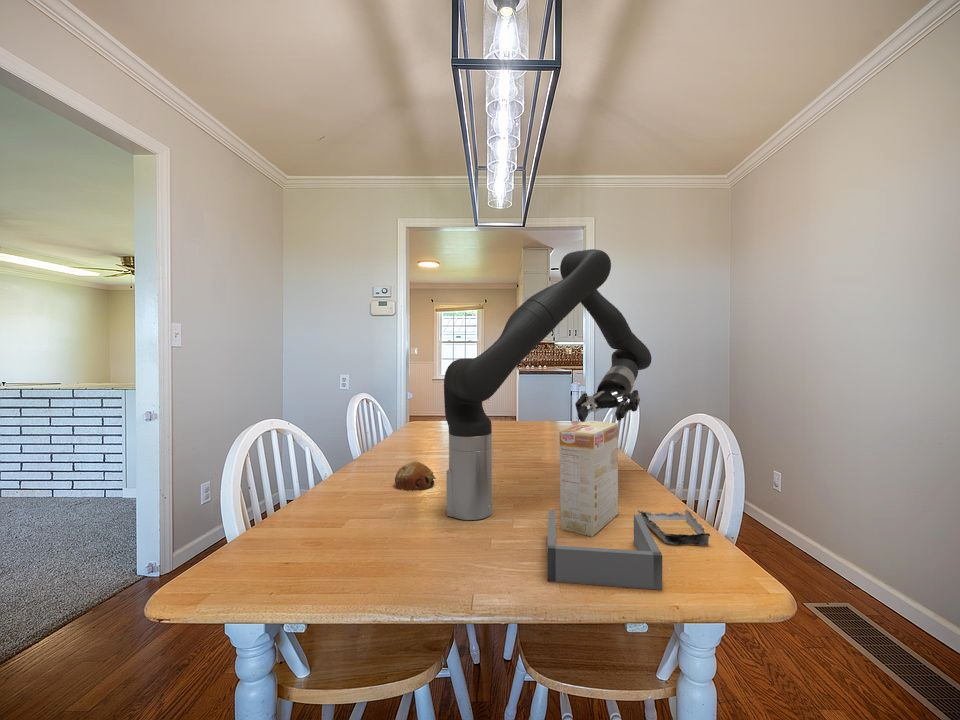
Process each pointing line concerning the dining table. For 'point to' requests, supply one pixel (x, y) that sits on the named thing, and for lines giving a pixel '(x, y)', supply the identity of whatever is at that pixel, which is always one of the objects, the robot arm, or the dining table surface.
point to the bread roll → (414, 477)
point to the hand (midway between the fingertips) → (599, 417)
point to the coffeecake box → (588, 476)
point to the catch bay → (606, 561)
